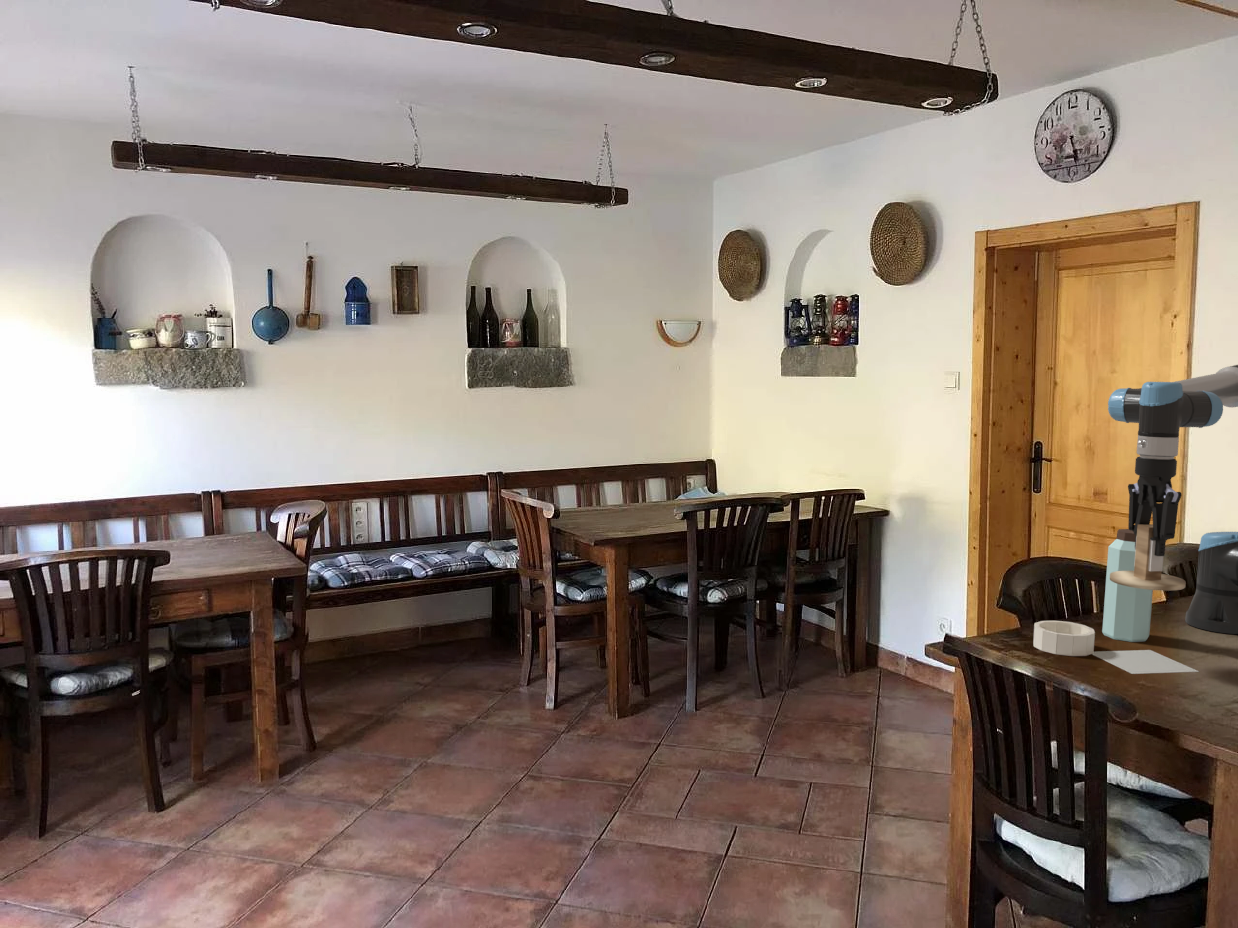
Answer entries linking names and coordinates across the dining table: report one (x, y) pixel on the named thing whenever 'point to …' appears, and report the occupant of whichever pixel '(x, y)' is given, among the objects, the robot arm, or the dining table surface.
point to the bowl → (1064, 638)
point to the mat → (1142, 662)
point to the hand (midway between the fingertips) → (1148, 568)
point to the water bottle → (1125, 595)
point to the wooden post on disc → (1146, 568)
